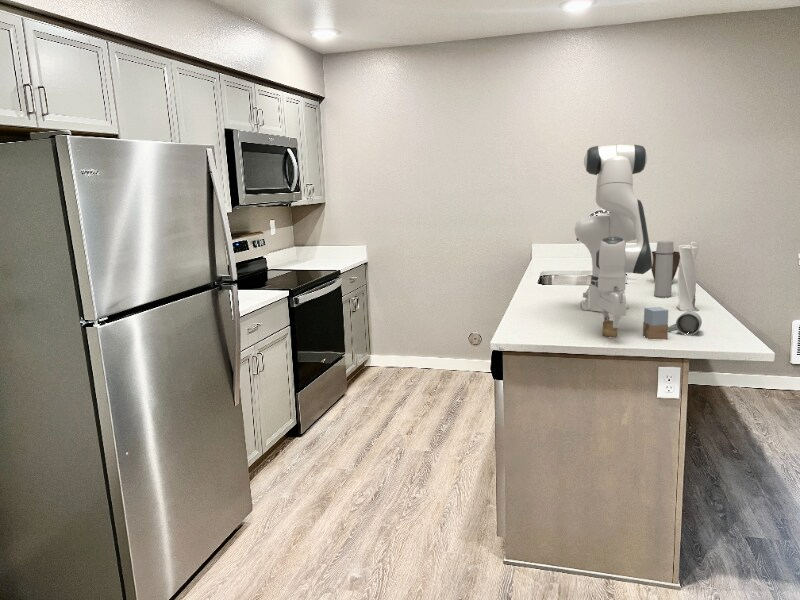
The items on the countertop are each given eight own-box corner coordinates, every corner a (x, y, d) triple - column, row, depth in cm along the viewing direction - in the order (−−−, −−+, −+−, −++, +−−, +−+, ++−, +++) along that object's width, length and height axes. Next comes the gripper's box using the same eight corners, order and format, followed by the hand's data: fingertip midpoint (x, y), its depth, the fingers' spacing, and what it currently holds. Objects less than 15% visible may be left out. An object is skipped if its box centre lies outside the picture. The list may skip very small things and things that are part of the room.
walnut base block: (642, 335, 207) (643, 321, 206) (660, 335, 207) (660, 321, 206) (649, 340, 201) (650, 325, 200) (667, 339, 201) (668, 325, 200)
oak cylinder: (600, 334, 211) (601, 320, 210) (614, 334, 211) (614, 320, 210) (604, 337, 206) (605, 323, 205) (619, 337, 206) (619, 323, 205)
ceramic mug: (701, 331, 210) (702, 309, 209) (699, 336, 203) (700, 314, 202) (669, 328, 215) (669, 308, 214) (666, 334, 209) (666, 312, 207)
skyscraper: (700, 311, 239) (703, 242, 234) (678, 311, 241) (681, 242, 236) (694, 307, 247) (697, 240, 242) (673, 307, 249) (676, 240, 244)
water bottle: (674, 297, 269) (677, 242, 264) (657, 298, 269) (659, 242, 265) (666, 294, 278) (668, 240, 273) (649, 294, 278) (651, 241, 274)
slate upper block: (643, 322, 205) (644, 307, 205) (658, 321, 206) (659, 306, 205) (652, 325, 200) (652, 311, 199) (667, 324, 201) (668, 310, 200)
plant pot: (656, 280, 316) (658, 250, 313) (685, 283, 305) (686, 251, 302) (642, 284, 307) (643, 253, 304) (670, 287, 295) (672, 254, 292)
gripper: (631, 289, 194) (630, 330, 197) (611, 280, 215) (610, 318, 217) (612, 289, 195) (611, 331, 197) (593, 281, 215) (593, 318, 217)
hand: (610, 324), depth 207 cm, fingers open, 8 cm apart
